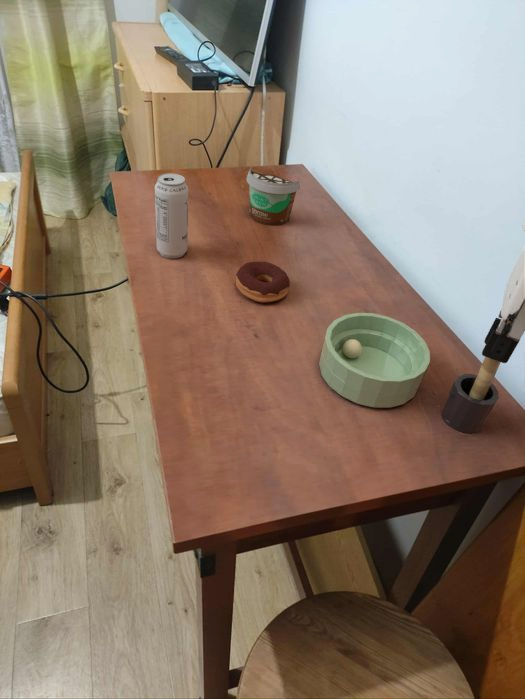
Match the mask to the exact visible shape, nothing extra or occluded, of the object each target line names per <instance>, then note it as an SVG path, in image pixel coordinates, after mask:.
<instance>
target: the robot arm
mask: <svg viewBox="0 0 525 699" xmlns="http://www.w3.org/2000/svg"><path fill="white" fill-rule="evenodd" d="M522 230H523V231H524V232H525V221H524V222H523V223H522ZM501 319H502V320H501ZM500 321H501V322H500ZM507 321H511V322H513V323H512V325H511V324H507V325H506V323H507ZM524 333H525V244H523V247H522V248H521V251H520V253H519V255H518V257H517V259H516V261H515V263H514V265H513V267H512V270H511V272H510V274H509V277H508V278H507V282H506V285H505V289H504V293H503V298H502V305H501V308H500V311H499V313H498V317H495V319H494V321H493V323H492V325H491V326H490V328H489V330H488V332H487V334H486V336H485V338H484V344H485V345H484V347H483V349H482V351H481V355H482V356H483V357H484V358H485V357H488V358H491V359H493V360H496V361H499V362H501V363H502V364H507V363H508V361H509V360H510V358H511V356H512V355H513V353H514V352H515V350H516V348H517V347H518V345H519V343H520V341H521V338H522V337H523V335H524Z"/></svg>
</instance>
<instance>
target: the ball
mask: <svg viewBox="0 0 525 699" xmlns="http://www.w3.org/2000/svg"><path fill="white" fill-rule="evenodd" d="M361 351H362V346H361V344H360V343H359V342H358V341H357V340H354V339H350V340H348V341H346V342H345V343H344V345H343V352H344V354H345V355H346V356H347V357H349V358H356V357H358V356H359V355H360V354H361Z"/></svg>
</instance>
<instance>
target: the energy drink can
mask: <svg viewBox="0 0 525 699" xmlns="http://www.w3.org/2000/svg"><path fill="white" fill-rule="evenodd" d="M154 207H155V208H154V210H155V212H154V213H155V238H156V249H157V251H158V252H159V254H160V255H161V256H162V257H163V258H166V259H179V258H182V257H183V256H184V255H185V254H186V252H187V251H188V249H189V246H188V244H189V186H188V185H187V183H186V178H185V177H184V176H183V175H181V174H178V173H170V172H169V173H168V172H167V173H163V174H160V175H158V176H157V181H156V183H155V185H154Z"/></svg>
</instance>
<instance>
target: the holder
mask: <svg viewBox="0 0 525 699" xmlns="http://www.w3.org/2000/svg"><path fill="white" fill-rule="evenodd" d="M477 375H478V374H475V373H463V374H460V375H457V377H456V378H455V379H454V382H453V383H452V385H451V388H450V390H449V392H448V394H447V396H446V397H445V399H444V402H443V404H442V406H441V408H440V415H441V417H442V418H441V419H443V421H444V422H445V424H447V425H448V426H449V427H450V428H451V429H452V430H453V429H454V430H455V431H456V432H457V431H458V432H460V433H464V434H474V433H477V432H479V431H480V430H481V429H482V428H483V426H484V425H485V423H486V421H487V420H488V418H489V416H490V415H491V413H492V411H493V409H494V408H495V406H496V404H497V403H498V401H499V399H500V393H499V390H498V388H497V387H496V386H495V385H494V384H493V383H491V385H490V387H489V389H488V391H487V393H486V396H485V398H484V400H477V399H474V398H472V397H470V396H469V394H470V391H471V389H472V387H473V384H474V382H475V380H476V377H477Z"/></svg>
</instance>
